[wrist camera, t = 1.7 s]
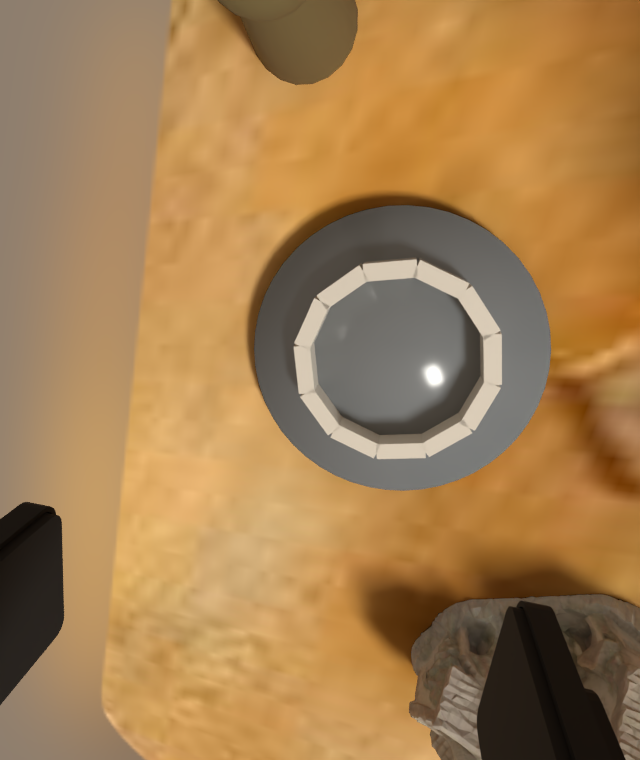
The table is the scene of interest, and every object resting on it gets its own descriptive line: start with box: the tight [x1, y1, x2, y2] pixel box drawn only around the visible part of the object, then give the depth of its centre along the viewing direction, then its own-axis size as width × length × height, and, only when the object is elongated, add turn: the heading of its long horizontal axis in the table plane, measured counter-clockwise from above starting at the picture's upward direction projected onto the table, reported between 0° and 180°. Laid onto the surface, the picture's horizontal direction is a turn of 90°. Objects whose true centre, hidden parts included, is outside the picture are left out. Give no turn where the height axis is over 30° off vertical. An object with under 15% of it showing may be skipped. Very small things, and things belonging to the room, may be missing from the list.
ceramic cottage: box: [409, 594, 640, 760], centre depth 32 cm, size 16×16×15 cm
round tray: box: [254, 205, 551, 490], centre depth 33 cm, size 18×18×2 cm
